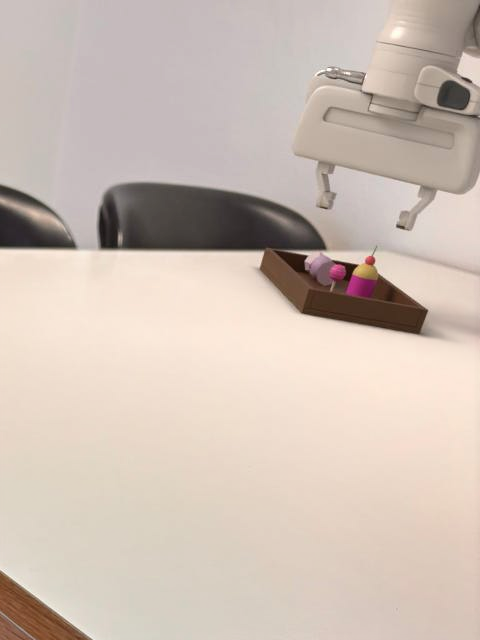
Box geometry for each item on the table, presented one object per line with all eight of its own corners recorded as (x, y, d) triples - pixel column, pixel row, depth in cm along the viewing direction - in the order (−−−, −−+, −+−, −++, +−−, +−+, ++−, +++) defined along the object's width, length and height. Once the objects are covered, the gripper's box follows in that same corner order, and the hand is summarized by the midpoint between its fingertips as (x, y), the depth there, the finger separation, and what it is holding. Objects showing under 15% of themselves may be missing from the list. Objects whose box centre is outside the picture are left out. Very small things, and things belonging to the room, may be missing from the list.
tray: (361, 287, 134) (369, 266, 133) (419, 334, 116) (428, 310, 115) (259, 268, 133) (265, 247, 132) (301, 312, 115) (309, 288, 114)
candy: (282, 269, 132) (298, 218, 129) (344, 280, 133) (361, 230, 130) (321, 306, 116) (339, 249, 113) (391, 319, 117) (411, 262, 114)
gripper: (305, 61, 114) (267, 197, 122) (497, 99, 106) (444, 243, 113) (324, 64, 119) (287, 195, 126) (509, 101, 111) (458, 239, 118)
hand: (362, 218), depth 120 cm, fingers open, 8 cm apart
